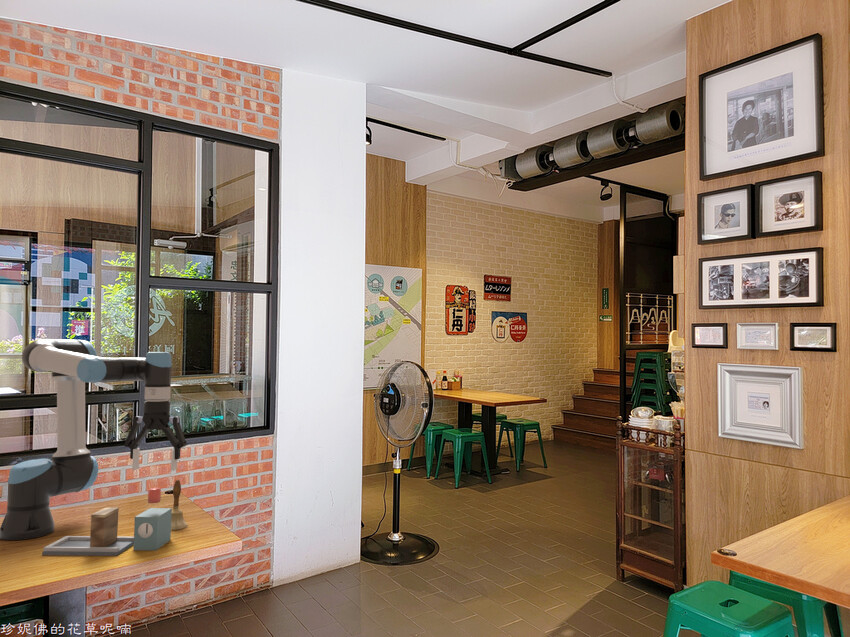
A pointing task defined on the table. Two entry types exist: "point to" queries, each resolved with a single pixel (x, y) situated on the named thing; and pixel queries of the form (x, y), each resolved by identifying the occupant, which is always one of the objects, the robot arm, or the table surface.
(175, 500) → the hand bell
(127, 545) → the track
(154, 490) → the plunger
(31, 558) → the table surface
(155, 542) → the cabinet
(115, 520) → the tan rectangular block
